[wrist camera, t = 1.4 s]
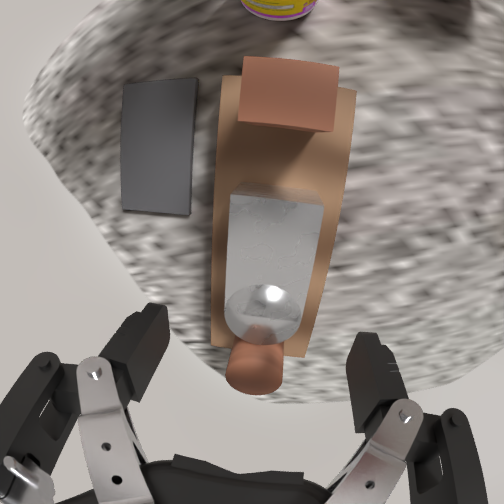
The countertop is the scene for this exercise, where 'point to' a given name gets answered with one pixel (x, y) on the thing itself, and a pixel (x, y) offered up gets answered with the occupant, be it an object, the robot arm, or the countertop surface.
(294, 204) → the lever cap
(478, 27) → the countertop surface
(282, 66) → the plane body
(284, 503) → the robot arm
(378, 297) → the countertop surface
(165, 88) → the rubber mat
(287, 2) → the supplement bottle
